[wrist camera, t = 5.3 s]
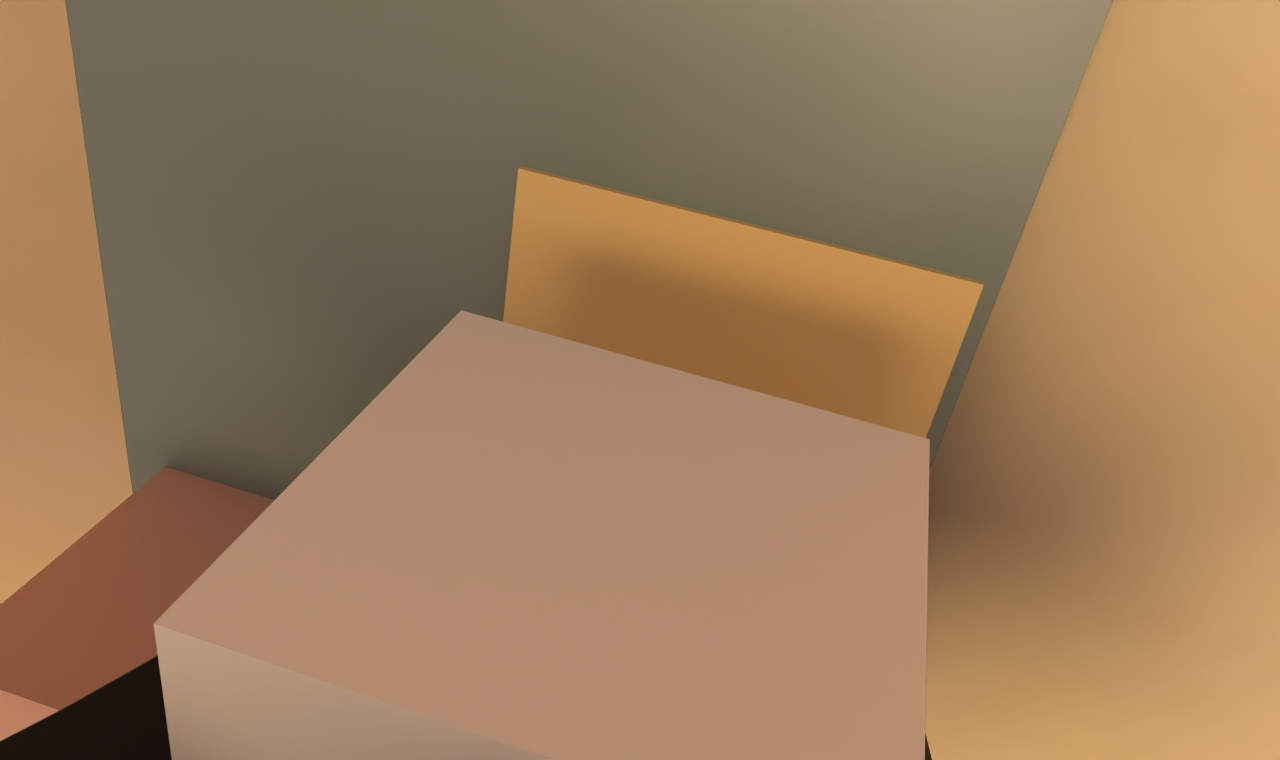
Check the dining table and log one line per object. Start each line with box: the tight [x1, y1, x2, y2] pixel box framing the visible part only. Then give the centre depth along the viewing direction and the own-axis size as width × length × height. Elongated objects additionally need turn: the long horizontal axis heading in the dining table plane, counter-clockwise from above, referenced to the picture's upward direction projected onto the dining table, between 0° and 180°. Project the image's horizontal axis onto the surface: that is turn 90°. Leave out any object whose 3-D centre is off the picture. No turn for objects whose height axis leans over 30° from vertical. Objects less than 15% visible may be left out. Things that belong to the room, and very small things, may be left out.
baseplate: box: [65, 0, 1113, 500], centre depth 14 cm, size 12×20×1 cm, turn 171°
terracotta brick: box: [0, 467, 275, 741], centre depth 16 cm, size 5×6×4 cm
